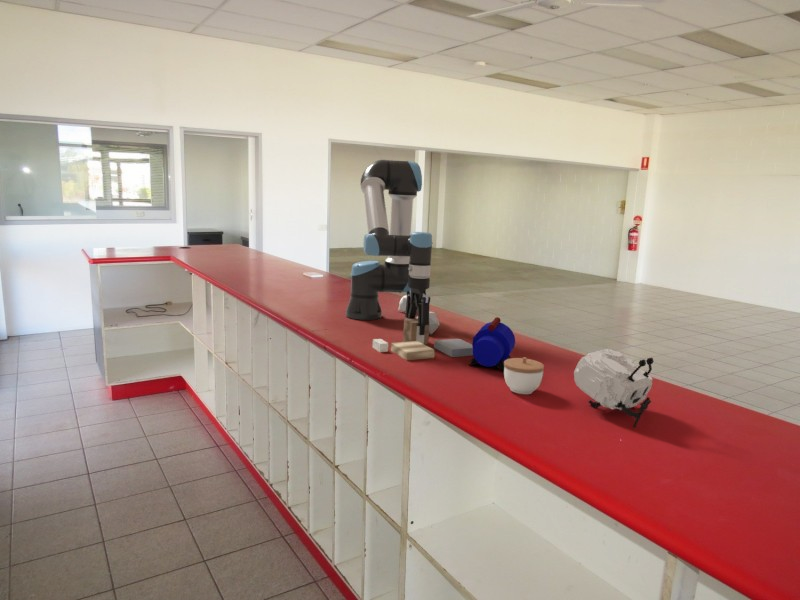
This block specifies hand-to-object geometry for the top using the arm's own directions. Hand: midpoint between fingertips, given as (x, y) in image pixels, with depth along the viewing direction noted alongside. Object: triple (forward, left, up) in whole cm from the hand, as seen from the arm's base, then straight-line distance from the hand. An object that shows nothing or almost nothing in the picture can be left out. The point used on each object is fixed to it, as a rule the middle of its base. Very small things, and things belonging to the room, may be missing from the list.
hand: (415, 341), depth 200 cm
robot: (+75, +19, -1) cm, 77 cm away
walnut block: (0, 0, 0) cm, 0 cm away
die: (-12, +11, -1) cm, 16 cm away
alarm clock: (+32, +10, -1) cm, 34 cm away
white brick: (+5, -16, -1) cm, 17 cm away
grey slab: (+14, +8, -1) cm, 16 cm away
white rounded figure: (-47, +23, -1) cm, 52 cm away
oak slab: (+13, -8, -1) cm, 15 cm away
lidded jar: (+54, +5, -1) cm, 54 cm away
